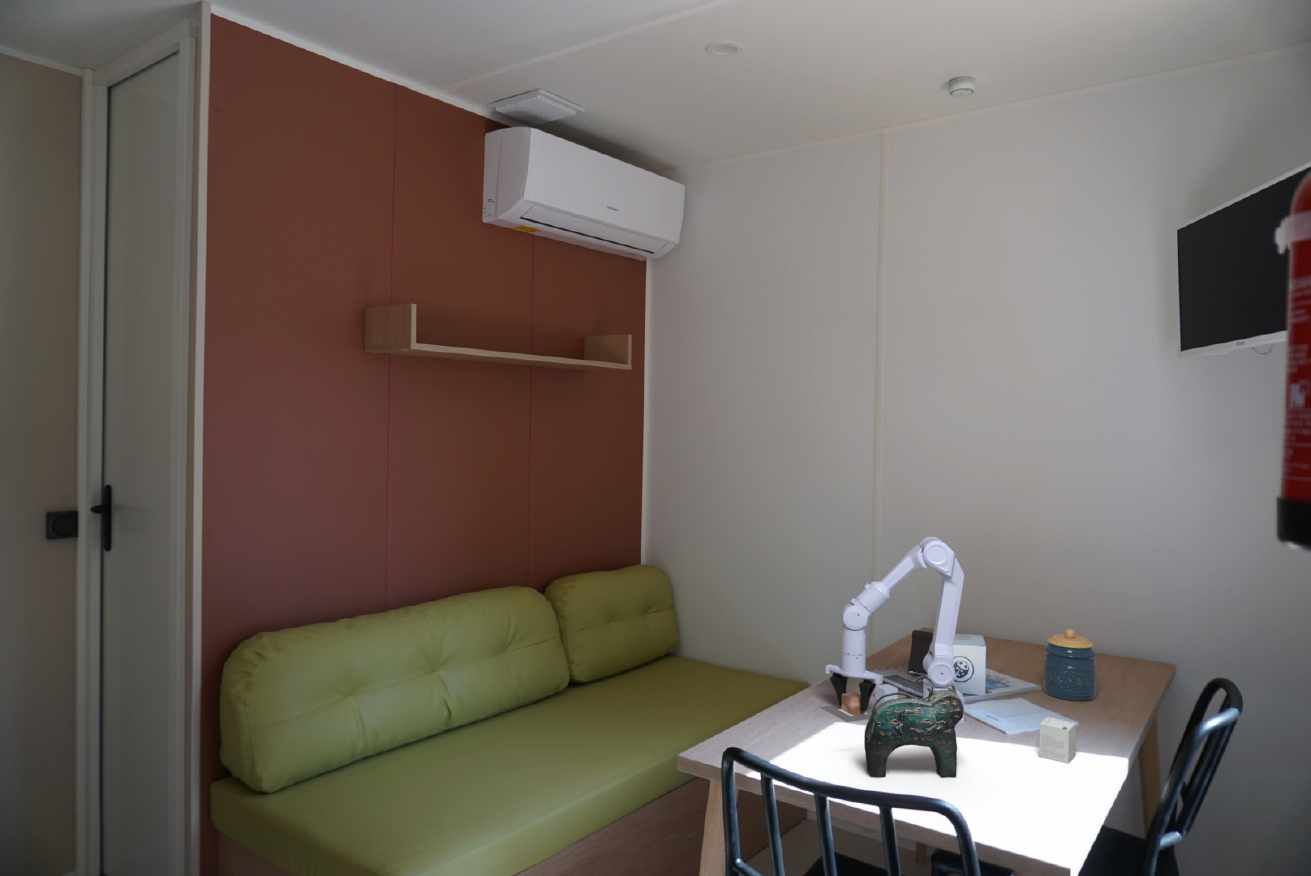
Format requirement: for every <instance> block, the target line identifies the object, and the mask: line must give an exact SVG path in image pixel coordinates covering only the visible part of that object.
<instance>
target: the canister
mask: <svg viewBox="0 0 1311 876" xmlns="http://www.w3.org/2000/svg"><path fill="white" fill-rule="evenodd" d="M1046 642H1047V643H1048V644H1046V645H1045V646H1044V647H1043V648H1042V649H1043V651H1044V652H1045V655H1044V656H1045V657H1044V658H1043V660H1042V662H1043V681H1042V687H1043V692H1044V693H1045V694H1046V695H1048V696H1051V697H1053V698H1057V699H1061V700H1067V701H1074V702H1085V701H1086V702H1087V701H1092V700H1095V698H1096V694H1097V667H1098V666H1097V664H1096V661H1095V658H1096V657H1097V655H1098V653H1097V651H1095V650H1094V649H1093V647H1094V643H1093V642H1091V641H1090V640H1088V638H1086V637H1084V636H1081V635H1076V631H1075V629H1072V628H1067V629H1065V631H1064V633H1058V634H1054V635H1052V636H1050V637H1048V638H1047V639H1046Z"/></svg>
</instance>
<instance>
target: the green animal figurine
mask: <svg viewBox="0 0 1311 876" xmlns="http://www.w3.org/2000/svg"><path fill="white" fill-rule="evenodd" d="M922 679H928V680H929V681H930V682H931V684H932V689H931V688H928V687H927V690H928V691H929V696H928V697H925V698H923V697H922V698H921V697H918V696H917V697H916V696H913V695H908V694H906V693H902V692H898V693H890V694H886V695H883V696H881V697H880V698H879V699H876V701H875V702H874V704H873V707H872V714H871V716H870V718H869V719H868V721H867V722H866V725H865V729H864V736H863V739H864V742H863V743H864V751H865V760H866V770H867V773H868V774H869V776H870V777H871V778H876V779H877V778H878V779H879V778H886V777H887V763H888V758H889V757H890V755H891V754H892V753H893V752H894V751H895V750H897V749H899V748H901V747H904V746H917V747H918V746H919V747H926V748H929V749H930V751H931V752H932V755H933V758H934V763H935V770H936V773H937V774H938V776H939V777H940V778H943V779H944V778H957V768H958V758H957V757H958V756H957V755H958V754H957V753H958V743H957V742H958V741H957V736H956V733H957V732H956V730H955V727H956V726H957V725H958V724H957V723H958V722H959V721H960V720H961V719H962V717H963V714H964V715H965V707H964V708H963V703H962V701H961V699H960V698H959V696H958V695H957V693H956V689H957V688H956V686H955V685H954V686H953V685H951V686H950V688H949V689H948V690H939V691H935V690H933V683H932V681H931V679H929V678H928V677H925V676H918V677H917V678H915V680H914V682H913V683H914V684H917V682H918V681H920V680H922ZM955 688H956V689H955ZM892 695H898V696H899V695H900V696H904V697H900V698H898V699H891V700H887V701H885V702H882V703H880V704H878V703H879V702H881V701H880V700H881V699H883V698H884V697H888V696H892ZM927 698H928V699H927ZM876 706H877V707H876Z"/></svg>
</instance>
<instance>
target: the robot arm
mask: <svg viewBox="0 0 1311 876" xmlns="http://www.w3.org/2000/svg"><path fill="white" fill-rule="evenodd" d="M926 564H928V565H929V566H930V567H932V569H935V570H936V572H937V573H938V574H939V576H940V577H941V578H942V580H941V583H940V591H939V598H938V604H937V610H936V617H935V623H934V629H933V633H934V634H933V640H932V643H931V645H930V648H929V652H928V654H927V655H926V656H925V658H924V660H923V667H924V669H925V671H926V672H927V675H926V677H928V678H929V679H931V681H932V683H933V690H935V691H939V690H948V689H949V688H950V686H951V685H953V686H955V678H956V671H955V667H954V658H955V657H954V644H955V637H956V632H957V625H958V617H959V613H960V612H959V611H960V607H961V606H960V605H961V600H962V595H963V593H962V592H963V587H964V581H965V573H964V571H963V569H962V567H961V565H960V563H959V561H958V559H957V557H956V553H955V552H954V551H953V550H952V548H951V547H950V546H948V545H947V544H946V543H945V542H943V541H942V540H941V539H939V538H938V537H936V536H928V537H925V538H924V539H922V540H921V541H920V542H919V544H916V545H915V546H914V547H913V548H911V549H910V550H909V551H908V552H907V553H906V554H905V555H904V556H903V557H902V559H900V561H898V563H896V565H894V567H893V568H892V569H891V570H890V571H889V572H888V573H887V574H886V575H885V576H884V577H883V578H882V579H881V580H880V581H871V583H870V584H869V582H866V584H864V586H863V587H864V589H863V590H862V591H861V592H860V593H859V594H858V595H857V596H856V597H855V598H854V597H852V598H851V599H850V602H851V603H848V604H845V606H844V607H843V608H842V611H841V614H840V615H841V619H842V622H843V624H842V633H841V665H835V664H830V663H829V664H826V665H825V674H827V675H830V674H832V675H831V677H830V678H829V680H830V681H829V682H830V683H831V684H832V687H833V689H834V690H835V694H836V698H837V702H838V704H839V706H842V694H845V693H847V685H848V679H849V678H850V679H853V680H859V681H861V682H859V683H858V687H859V688H858V689H859V694H860V695H861V711H866V710H867V708H868V707H869V703H870V700H871V696H872V695H873V692H874V690H875V687H876V686H877V685H883V680H884V679H883V676H884V675H882V674H879V673H875V672H872V671H869V670H867V669H866V663H867V662H866V657H867V656H866V651H867V650H866V648H867V646H866V645H867V644H866V643H867V640H866V639H867V638H866V637H867V635H866V626H867V624H868V620H869V619H868V618H870V617H873V615H874V614H876V613H877V612H878V611H879V610H880V609H881V608H882V607H883V606H884V605H885V604H886V603H887V602H888V601H889V600H890V599H891V595H890V594H891V590H894V588H895V587H896V586H898V585H899V584H900V583H902V581H903V580H904V579H905V578H906V577H908V576H909V575H910V574H912V572H913V571H915V570H922V569H927V567H928V566H927V565H926ZM922 682H923V683H922V698H925V697H928V696H929V691H928V690H927V687H928V688H931V689H932V684H931V682H930V681H929V680H928V679H923V681H922ZM955 689H956V693H957V695H958V696H959V698H960V699H961V701H962V703H963V708H964V709H965V699H964V695H963V694H962V692H961V691H959V690H958V689H957V687H955ZM927 699H928V698H927ZM961 724H964V725H968V724H967V721H965V713H964V714H963V717H962V719H961V720H960V721H959V722H958V723H957V724H956V725H961Z"/></svg>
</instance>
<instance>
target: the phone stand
mask: <svg viewBox="0 0 1311 876" xmlns="http://www.w3.org/2000/svg"><path fill="white" fill-rule="evenodd" d="M911 634H912V635H911V644H910V645H911V646H910V654H909V662H908V668H907V669H908V670H907V672H908V671H913V672H917V673H923V674H927V672H926V671H925V669H924V667H923V660H924V658H925V656H926V655H927V654H928V652H929V648H930V645H931V643H932V640H933V634H934V631H933V632H932V631H925V630H918V629H913V631H912V633H911Z"/></svg>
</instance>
